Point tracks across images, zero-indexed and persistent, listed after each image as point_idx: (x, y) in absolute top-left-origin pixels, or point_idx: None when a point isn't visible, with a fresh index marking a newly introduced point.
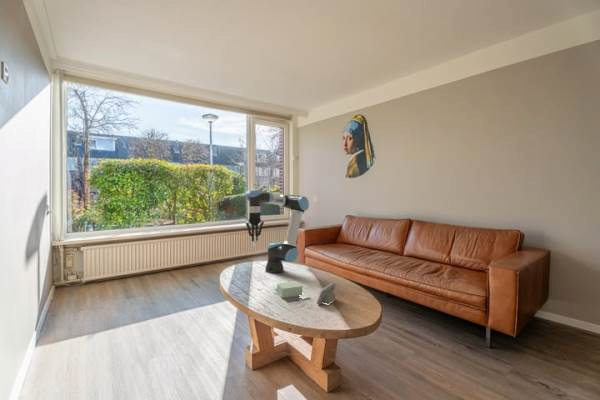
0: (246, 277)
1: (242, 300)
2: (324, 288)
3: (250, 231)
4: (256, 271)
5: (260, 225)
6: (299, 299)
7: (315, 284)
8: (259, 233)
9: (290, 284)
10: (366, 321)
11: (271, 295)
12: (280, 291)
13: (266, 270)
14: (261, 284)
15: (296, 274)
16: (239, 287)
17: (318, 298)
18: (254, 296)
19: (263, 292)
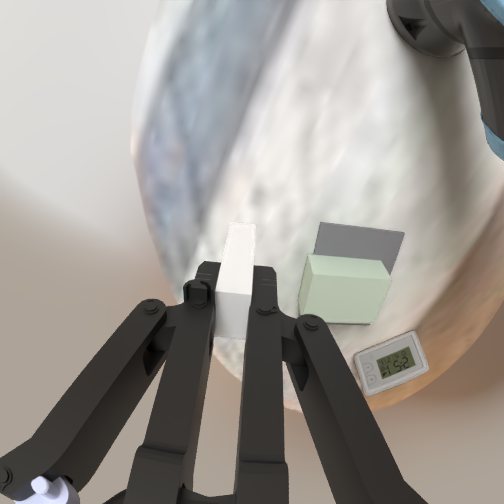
0: (260, 25)
1: (170, 261)
2: (375, 392)
3: (137, 396)
4: None
5: (341, 493)
6: (337, 323)
7: (459, 244)
8: (300, 377)
9: (351, 300)
10: (371, 408)
11: (278, 264)
12: (302, 296)
13: (389, 5)
14: (293, 145)
15: (478, 119)
16: (186, 139)
17: (358, 369)
18: (217, 248)
19: (263, 229)
